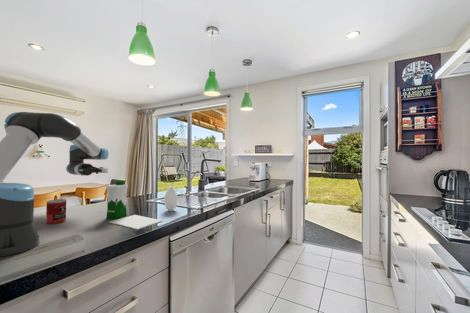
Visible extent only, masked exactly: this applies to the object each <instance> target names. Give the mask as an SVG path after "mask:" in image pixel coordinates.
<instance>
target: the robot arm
mask: <svg viewBox="0 0 470 313" xmlns="http://www.w3.org/2000/svg"><path fill="white" fill-rule="evenodd" d="M3 126H4V131H5V134H6V135H5V136H4V137H3V138H2V139H1V140H0V258H3V257H7V256H12V255H17V254H19V253H23V252H26V251H29V250H31V249H33V248H35V247H37V246H38V245H39V244H40V236H39V234H38V232H37V229H36V226H35V224H34V208H35V207H34V206H35V197H36V196H35V190H34V189H35V188H34V187H33V186H32V185H30V184H28V183H18V182H4V180H5V179H6V178H7V176H8V175H9V174H10V173H11V171H12V170H13V169H14V168H15V166H16V164H18V162H19V161H20V159H21V158H22V157H23V156H24V154H25V153H26V151H27V150H28V149H29V147H30V146H31V145H36V144H38V142H39V141H40V139H41V138H56V139H57V138H58V139H62V140H64V141H65V142H70V143H71V145H70V146H69V162H68V164H67V165H66V169H65V171H66V172H67V173H68V174H70V175H75V176H77V175H78V176H80V177H83V176H90V175H92V174H96V175H97V174H98V175H99V174H108V173H109V172H108V171H109V169H108V168H107V167H106V168H105V167H103V166H100V167H97V166H93V165H92V164H91V163H85V162H84V161H85V160H96V161H99V160H100V161H101V160H107V159H108V158H109V150H108V149H107V148H101V147H99V145H98V144H96V143H95V142H94V140H92V139H90V138H89V137H88V136H87V135H86V134H84V132H83V131H82V129H81V128H80V126H78V124H76V123H75V122H73V121H71V120H70V119H68V118H66V117H64V116H62V115H59V114H56V113H53V112H51V113H49V112H34V111H33V112H29V111H20V112H19V111H17V112H16V111H15V112H12V113H10V114H8V116H6V118H5V120H4V125H3Z"/></svg>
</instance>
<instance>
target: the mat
mask: <svg viewBox="0 0 470 313" xmlns="http://www.w3.org/2000/svg"><path fill="white" fill-rule="evenodd" d="M163 221H164V220H162V219H159V218H157V219H156V218H152V217H147V216H143V215H138V214H133V215H129V216H126V217H123V218H120V219H117V220H116V219H112V220H110V221H108V223H109V224H114V225H116V226H121V227H124V228H129V229H132V230H136V231H138V230H140V229H141V230H142V229H144V228H148V227H150V226H153V225H156V224H159V223H162V222H163Z"/></svg>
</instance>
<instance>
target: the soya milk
mask: <svg viewBox="0 0 470 313" xmlns="http://www.w3.org/2000/svg"><path fill="white" fill-rule="evenodd" d="M128 186H129V184H125V180H115V183H114V184H109V185H106V187H105V188H106V191H107V209H106V210H107V211H106V220H107V219H108V220H117V219H121V218H125V217H128V216H127V192H128Z"/></svg>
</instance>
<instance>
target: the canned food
mask: <svg viewBox="0 0 470 313" xmlns="http://www.w3.org/2000/svg"><path fill="white" fill-rule="evenodd" d="M45 212H46V216H45V217H46V219H45V221H46V224H47V225H58V224H61V223H64V222H66V219H67V199H66V198H65V199H64V198H58V199H57V198H56V199H55V198H54V199H50V200H46V211H45Z"/></svg>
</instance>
